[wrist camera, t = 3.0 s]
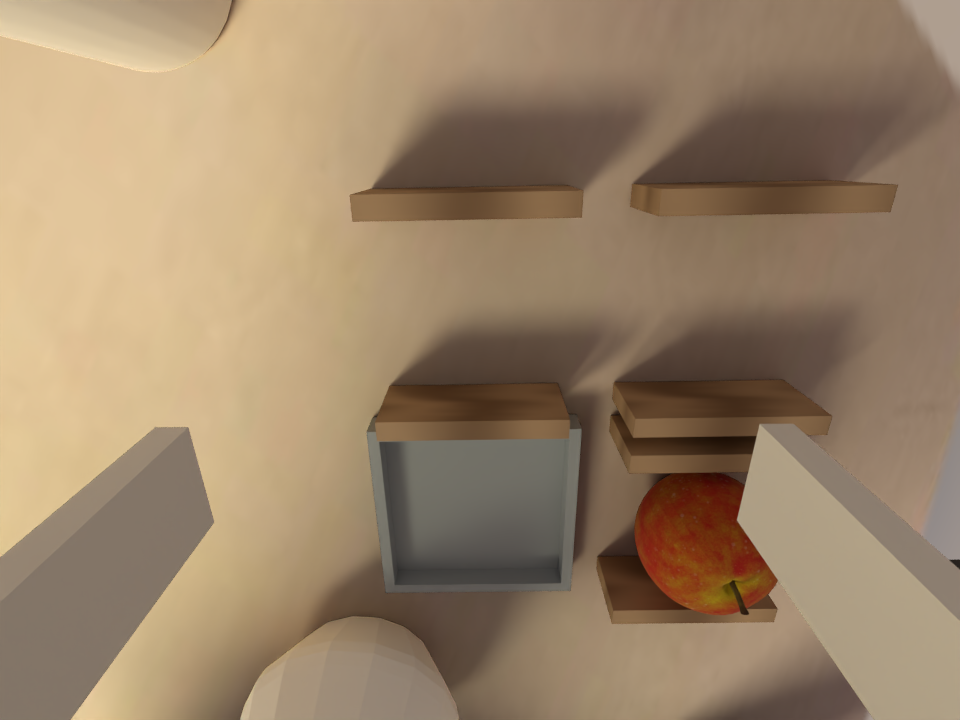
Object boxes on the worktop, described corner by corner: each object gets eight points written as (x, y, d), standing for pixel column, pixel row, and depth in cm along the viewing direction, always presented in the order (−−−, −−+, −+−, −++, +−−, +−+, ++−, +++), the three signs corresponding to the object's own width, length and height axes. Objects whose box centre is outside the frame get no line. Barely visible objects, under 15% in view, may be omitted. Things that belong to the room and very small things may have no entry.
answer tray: (390, 572, 32) (385, 593, 30) (372, 417, 27) (366, 431, 26) (566, 570, 31) (570, 590, 30) (576, 414, 27) (581, 428, 26)
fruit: (621, 450, 28) (671, 554, 21) (745, 441, 28) (841, 543, 21) (619, 545, 31) (662, 669, 23) (732, 538, 31) (813, 660, 23)
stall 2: (612, 399, 27) (633, 437, 23) (632, 184, 23) (661, 189, 19) (779, 396, 27) (826, 434, 23) (830, 180, 23) (898, 185, 19)
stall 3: (596, 568, 31) (611, 623, 28) (610, 415, 27) (631, 456, 24) (739, 567, 31) (773, 622, 28) (775, 413, 27) (821, 453, 23)
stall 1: (391, 402, 27) (377, 441, 23) (370, 188, 23) (349, 195, 19) (556, 399, 27) (569, 438, 23) (566, 185, 23) (583, 190, 19)
